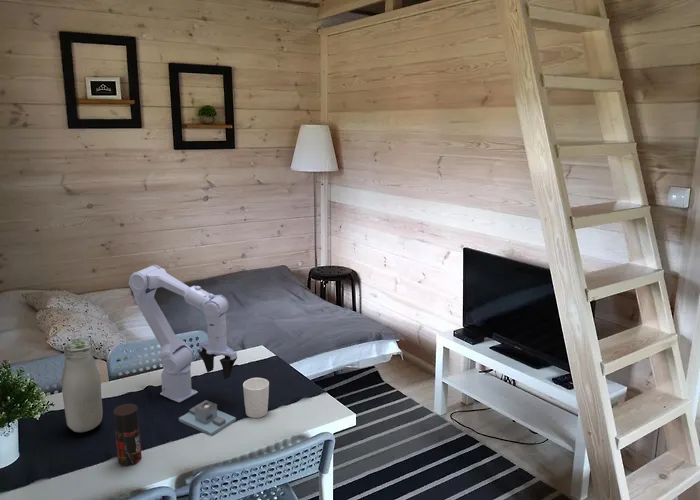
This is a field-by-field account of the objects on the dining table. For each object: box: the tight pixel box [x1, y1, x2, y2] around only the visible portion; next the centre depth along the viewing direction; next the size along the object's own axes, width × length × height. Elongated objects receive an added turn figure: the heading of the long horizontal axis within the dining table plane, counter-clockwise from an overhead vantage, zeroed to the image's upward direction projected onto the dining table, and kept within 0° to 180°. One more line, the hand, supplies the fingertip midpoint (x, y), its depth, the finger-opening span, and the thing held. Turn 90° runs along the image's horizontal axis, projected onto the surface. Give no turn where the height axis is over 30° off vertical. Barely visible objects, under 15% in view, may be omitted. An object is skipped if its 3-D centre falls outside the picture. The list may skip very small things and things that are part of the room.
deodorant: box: [112, 403, 143, 467], centre depth 147 cm, size 6×6×15 cm
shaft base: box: [178, 405, 237, 437], centre depth 167 cm, size 14×10×5 cm
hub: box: [194, 399, 218, 424], centre depth 166 cm, size 5×5×4 cm
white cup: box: [242, 377, 270, 419], centre depth 171 cm, size 8×8×10 cm
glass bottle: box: [61, 337, 104, 433], centre depth 159 cm, size 10×10×28 cm
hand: (218, 374), depth 176 cm, fingers open, 7 cm apart
